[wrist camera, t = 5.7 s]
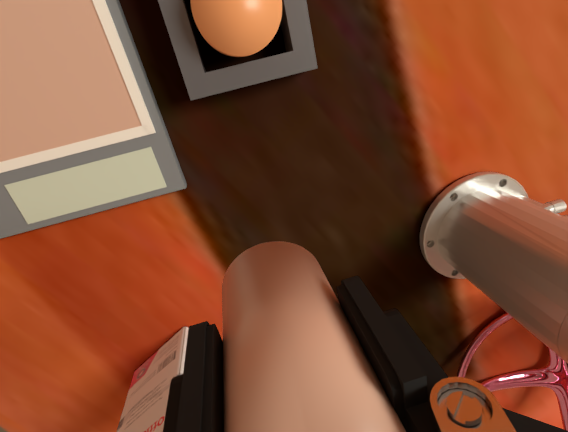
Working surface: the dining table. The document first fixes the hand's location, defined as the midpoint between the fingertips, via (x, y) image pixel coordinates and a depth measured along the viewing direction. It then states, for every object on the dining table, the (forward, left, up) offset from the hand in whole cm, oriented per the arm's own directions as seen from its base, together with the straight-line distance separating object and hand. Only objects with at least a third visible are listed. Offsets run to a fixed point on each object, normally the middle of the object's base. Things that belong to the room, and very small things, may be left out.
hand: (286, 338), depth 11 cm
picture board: (+14, -9, -22) cm, 28 cm away
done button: (-3, -12, -20) cm, 24 cm away
